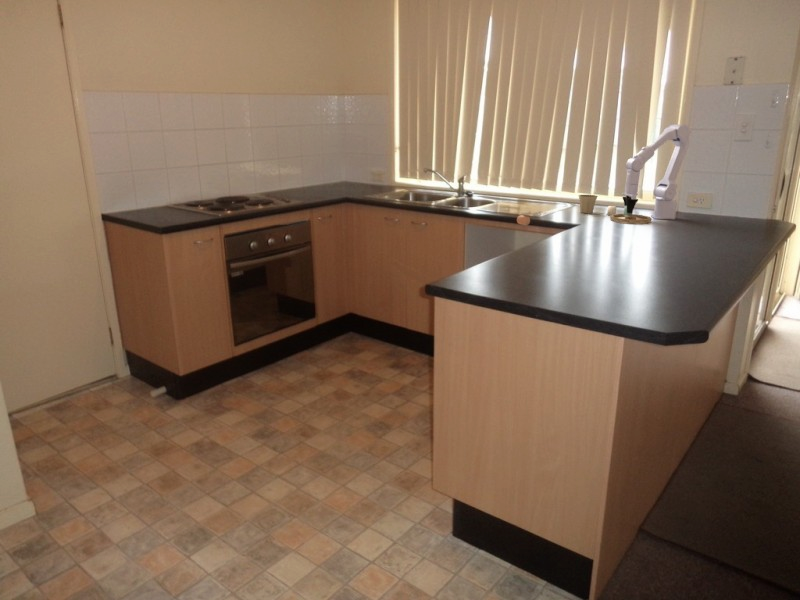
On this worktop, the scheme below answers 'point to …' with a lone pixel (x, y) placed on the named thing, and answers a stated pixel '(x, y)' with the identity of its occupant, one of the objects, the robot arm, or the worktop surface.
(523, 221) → the pink rounded lump
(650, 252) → the worktop surface
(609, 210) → the bead cream
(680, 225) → the worktop surface
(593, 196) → the flower pot
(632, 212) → the bead teal
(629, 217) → the ring tray
